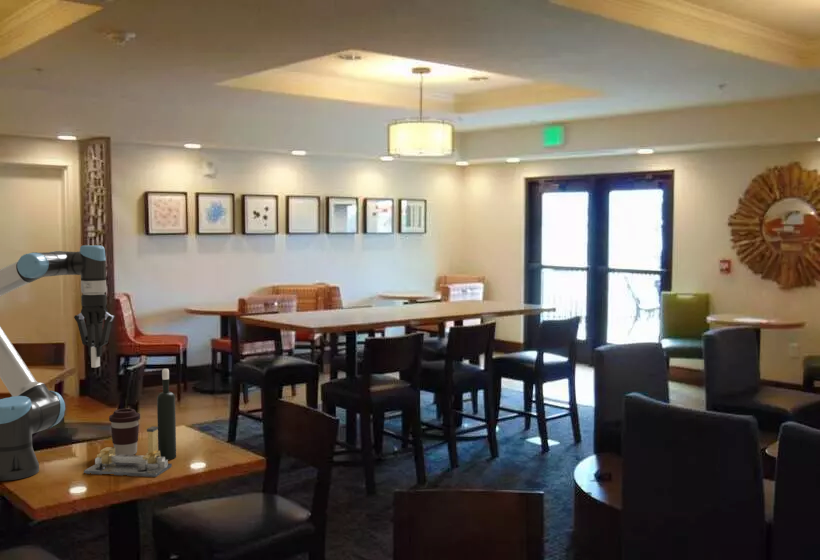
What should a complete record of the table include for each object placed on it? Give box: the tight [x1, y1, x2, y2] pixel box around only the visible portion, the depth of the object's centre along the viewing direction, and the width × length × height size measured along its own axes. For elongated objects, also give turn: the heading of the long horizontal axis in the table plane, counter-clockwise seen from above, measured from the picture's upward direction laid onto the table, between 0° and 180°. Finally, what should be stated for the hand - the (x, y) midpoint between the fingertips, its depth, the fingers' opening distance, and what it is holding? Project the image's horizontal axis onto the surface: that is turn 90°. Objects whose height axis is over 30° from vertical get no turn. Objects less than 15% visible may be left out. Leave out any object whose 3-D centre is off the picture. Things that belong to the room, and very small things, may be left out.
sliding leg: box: [142, 425, 160, 469], centre depth 254 cm, size 3×8×12 cm, turn 172°
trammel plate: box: [83, 446, 173, 478], centre depth 255 cm, size 24×11×6 cm, turn 82°
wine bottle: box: [156, 368, 177, 461], centre depth 268 cm, size 6×6×30 cm
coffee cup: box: [108, 408, 141, 455], centre depth 273 cm, size 10×10×15 cm
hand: (95, 366), depth 258 cm, fingers closed
